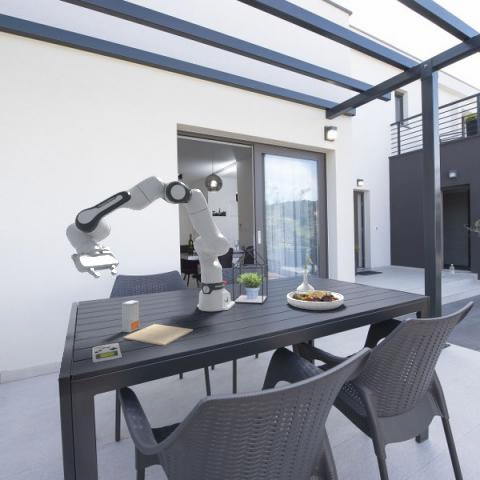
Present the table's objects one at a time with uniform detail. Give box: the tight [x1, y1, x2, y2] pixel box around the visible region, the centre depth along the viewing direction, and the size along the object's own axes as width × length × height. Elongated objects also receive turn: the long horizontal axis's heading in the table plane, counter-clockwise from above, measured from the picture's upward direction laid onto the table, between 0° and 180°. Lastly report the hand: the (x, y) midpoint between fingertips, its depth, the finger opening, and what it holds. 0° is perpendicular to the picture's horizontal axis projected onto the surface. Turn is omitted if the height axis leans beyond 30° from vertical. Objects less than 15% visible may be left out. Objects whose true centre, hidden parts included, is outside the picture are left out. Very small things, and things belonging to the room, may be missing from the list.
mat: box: [123, 323, 194, 347], centre depth 126 cm, size 18×20×1 cm
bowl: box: [286, 289, 345, 311], centre depth 171 cm, size 30×30×8 cm
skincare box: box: [121, 300, 140, 333], centre depth 133 cm, size 6×4×12 cm
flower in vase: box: [296, 253, 315, 291], centre depth 203 cm, size 13×11×25 cm
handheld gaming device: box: [92, 342, 123, 364], centre depth 109 cm, size 9×1×15 cm
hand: (106, 275), depth 137 cm, fingers open, 8 cm apart
